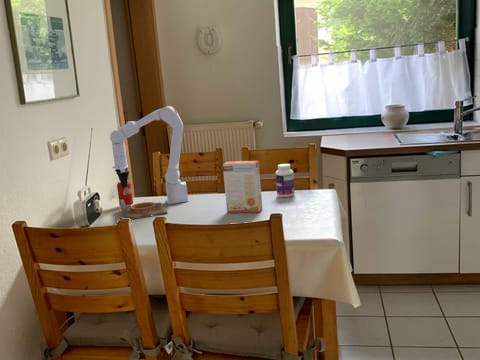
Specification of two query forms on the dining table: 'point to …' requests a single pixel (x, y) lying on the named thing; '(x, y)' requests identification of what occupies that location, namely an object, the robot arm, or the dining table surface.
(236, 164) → the cracker box
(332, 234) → the dining table surface
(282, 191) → the pill bottle
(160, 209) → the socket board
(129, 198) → the beverage can
